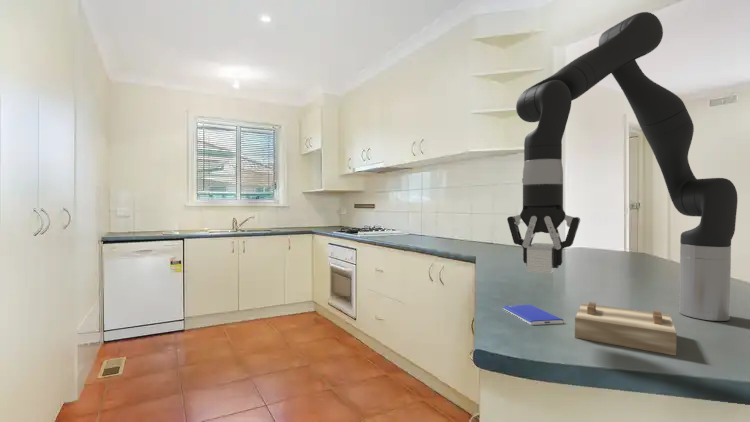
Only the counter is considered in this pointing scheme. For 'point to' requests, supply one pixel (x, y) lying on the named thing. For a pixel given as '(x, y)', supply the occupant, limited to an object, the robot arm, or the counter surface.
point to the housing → (540, 258)
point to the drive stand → (626, 328)
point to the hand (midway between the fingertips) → (542, 266)
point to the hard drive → (533, 314)
